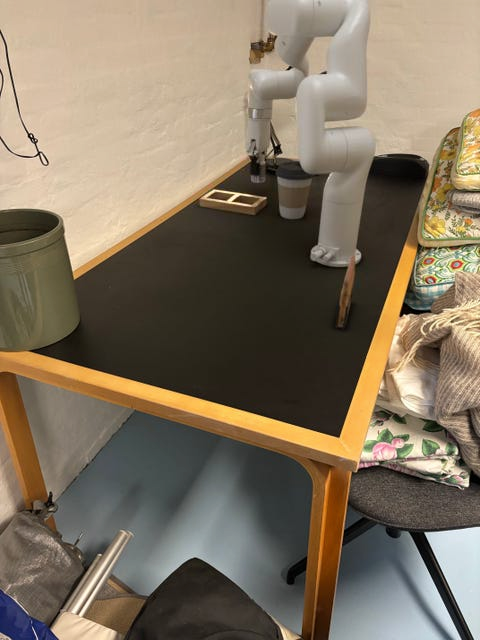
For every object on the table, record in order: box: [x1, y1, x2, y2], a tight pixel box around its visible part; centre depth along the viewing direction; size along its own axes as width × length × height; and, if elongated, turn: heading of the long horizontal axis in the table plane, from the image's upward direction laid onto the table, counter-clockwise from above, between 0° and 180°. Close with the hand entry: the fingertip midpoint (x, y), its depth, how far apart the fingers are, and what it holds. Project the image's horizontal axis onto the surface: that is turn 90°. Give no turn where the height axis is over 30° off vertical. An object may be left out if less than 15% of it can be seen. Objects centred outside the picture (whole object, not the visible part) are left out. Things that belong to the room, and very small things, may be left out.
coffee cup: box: [275, 160, 315, 220], centre depth 149 cm, size 11×11×15 cm
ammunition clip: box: [335, 254, 356, 330], centre depth 101 cm, size 11×2×12 cm, turn 163°
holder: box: [198, 189, 268, 216], centre depth 159 cm, size 10×19×2 cm, turn 67°
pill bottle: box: [250, 154, 267, 184], centre depth 163 cm, size 5×5×8 cm
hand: (258, 172), depth 164 cm, fingers closed on pill bottle, 4 cm apart
